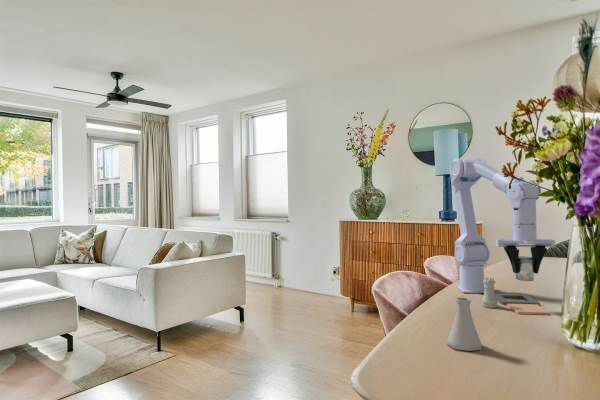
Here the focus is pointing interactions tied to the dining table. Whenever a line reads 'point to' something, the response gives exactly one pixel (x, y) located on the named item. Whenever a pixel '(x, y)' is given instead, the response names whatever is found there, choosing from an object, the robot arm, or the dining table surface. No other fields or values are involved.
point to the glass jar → (525, 268)
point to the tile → (528, 309)
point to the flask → (464, 328)
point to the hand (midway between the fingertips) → (525, 272)
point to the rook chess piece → (489, 294)
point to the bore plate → (503, 301)
